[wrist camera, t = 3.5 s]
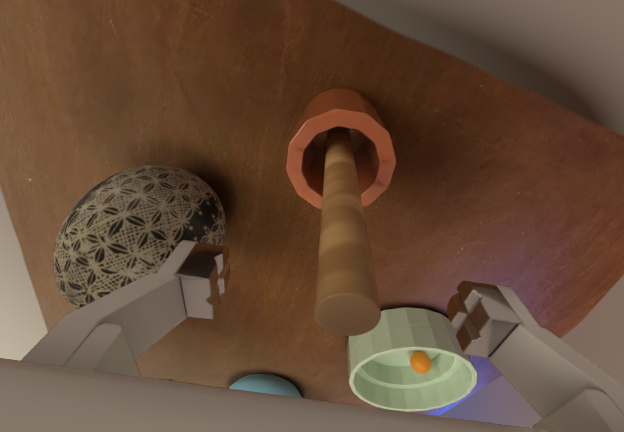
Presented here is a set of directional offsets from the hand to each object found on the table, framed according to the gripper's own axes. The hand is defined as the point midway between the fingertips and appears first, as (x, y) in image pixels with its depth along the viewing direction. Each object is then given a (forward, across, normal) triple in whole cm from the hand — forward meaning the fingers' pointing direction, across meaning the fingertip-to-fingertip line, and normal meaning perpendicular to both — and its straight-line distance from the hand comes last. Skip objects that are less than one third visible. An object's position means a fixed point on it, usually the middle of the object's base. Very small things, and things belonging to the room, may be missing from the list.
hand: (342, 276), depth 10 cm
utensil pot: (+19, 0, 0) cm, 19 cm away
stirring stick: (+18, 0, 0) cm, 18 cm away
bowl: (+19, -15, +30) cm, 38 cm away
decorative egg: (+19, +15, +10) cm, 26 cm away
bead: (+17, -18, +31) cm, 40 cm away
